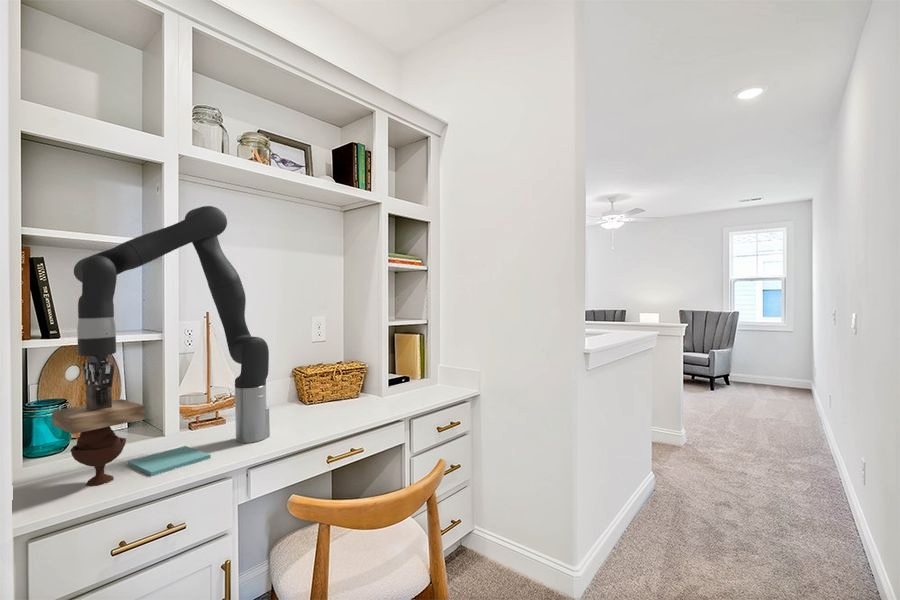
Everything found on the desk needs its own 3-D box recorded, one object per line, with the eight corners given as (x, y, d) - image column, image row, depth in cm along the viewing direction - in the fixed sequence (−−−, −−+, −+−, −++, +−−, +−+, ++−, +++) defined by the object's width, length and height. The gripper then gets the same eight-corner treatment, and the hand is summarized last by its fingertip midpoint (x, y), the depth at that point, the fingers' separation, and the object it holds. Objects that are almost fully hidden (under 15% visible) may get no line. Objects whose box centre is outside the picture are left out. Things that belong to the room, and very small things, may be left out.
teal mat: (185, 449, 134) (185, 445, 134) (210, 458, 126) (210, 454, 126) (127, 464, 122) (127, 461, 122) (151, 476, 113) (151, 472, 113)
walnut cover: (122, 411, 121) (121, 377, 121) (145, 419, 113) (144, 381, 113) (52, 425, 109) (51, 386, 109) (72, 434, 100) (71, 392, 100)
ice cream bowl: (132, 479, 111) (131, 420, 111) (75, 494, 103) (73, 430, 103) (122, 469, 118) (121, 413, 118) (67, 483, 110) (66, 423, 110)
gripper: (126, 335, 110) (128, 404, 110) (104, 334, 118) (106, 398, 118) (88, 338, 103) (90, 411, 104) (68, 336, 111) (70, 404, 112)
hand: (99, 403), depth 111 cm, fingers closed on walnut cover, 4 cm apart
